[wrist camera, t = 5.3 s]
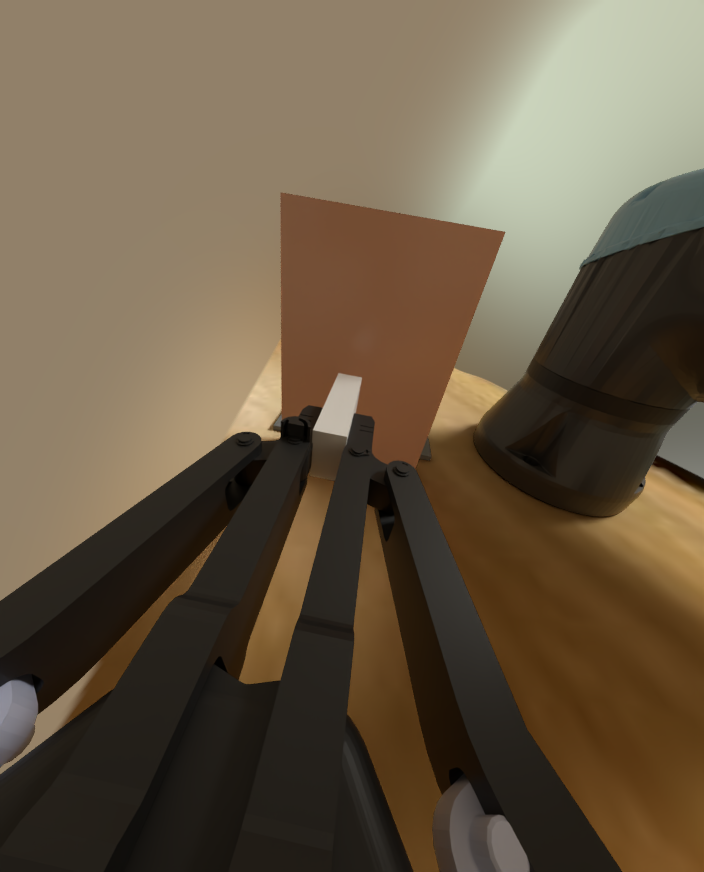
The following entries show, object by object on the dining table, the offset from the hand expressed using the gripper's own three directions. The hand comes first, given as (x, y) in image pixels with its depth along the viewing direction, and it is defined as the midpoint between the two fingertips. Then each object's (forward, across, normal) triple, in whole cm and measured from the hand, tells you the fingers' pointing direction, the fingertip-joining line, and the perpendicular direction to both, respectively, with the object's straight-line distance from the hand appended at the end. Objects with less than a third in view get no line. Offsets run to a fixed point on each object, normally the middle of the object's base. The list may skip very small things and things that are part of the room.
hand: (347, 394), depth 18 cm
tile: (+4, +1, -8) cm, 9 cm away
